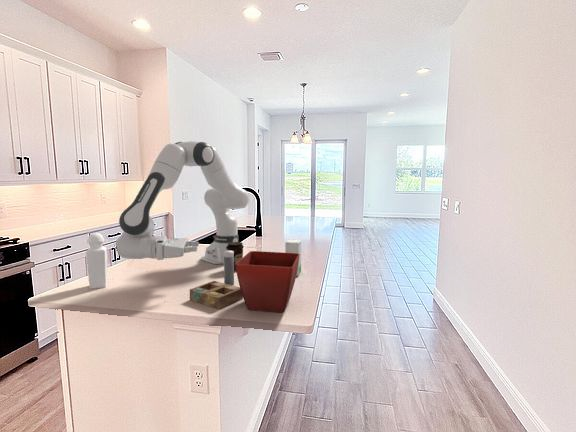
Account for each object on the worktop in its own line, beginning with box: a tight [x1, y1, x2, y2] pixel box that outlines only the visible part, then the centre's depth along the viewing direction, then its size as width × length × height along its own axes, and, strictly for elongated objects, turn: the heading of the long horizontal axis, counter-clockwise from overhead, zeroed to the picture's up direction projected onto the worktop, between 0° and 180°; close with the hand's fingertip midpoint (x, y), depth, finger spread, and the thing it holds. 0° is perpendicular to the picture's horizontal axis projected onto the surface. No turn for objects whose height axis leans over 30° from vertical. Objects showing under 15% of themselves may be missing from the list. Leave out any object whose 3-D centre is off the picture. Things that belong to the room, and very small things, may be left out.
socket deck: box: [189, 280, 244, 310], centre depth 119 cm, size 15×12×4 cm
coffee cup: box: [226, 241, 244, 272], centre depth 157 cm, size 9×8×13 cm
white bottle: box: [85, 232, 108, 290], centre depth 131 cm, size 6×6×22 cm
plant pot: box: [235, 250, 300, 313], centre depth 113 cm, size 19×19×17 cm
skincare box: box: [284, 239, 302, 277], centre depth 150 cm, size 8×7×16 cm
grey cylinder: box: [223, 250, 235, 286], centre depth 135 cm, size 4×4×14 cm
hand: (197, 246), depth 131 cm, fingers open, 8 cm apart
